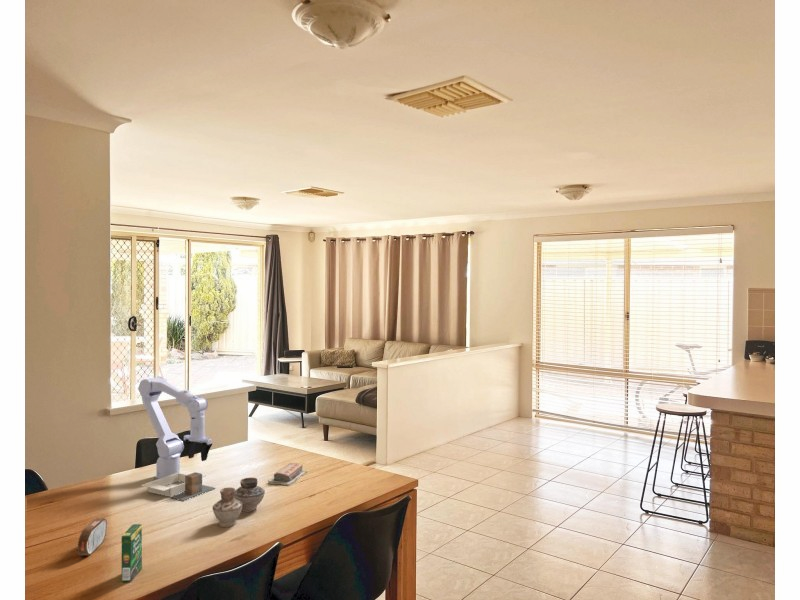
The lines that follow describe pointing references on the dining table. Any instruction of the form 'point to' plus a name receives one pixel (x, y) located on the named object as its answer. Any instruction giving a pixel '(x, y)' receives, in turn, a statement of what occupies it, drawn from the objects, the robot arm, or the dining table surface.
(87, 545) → the tin
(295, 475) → the packaged product
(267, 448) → the dining table surface
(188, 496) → the mat
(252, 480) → the pottery
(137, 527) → the coffee box
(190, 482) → the block
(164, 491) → the carton
